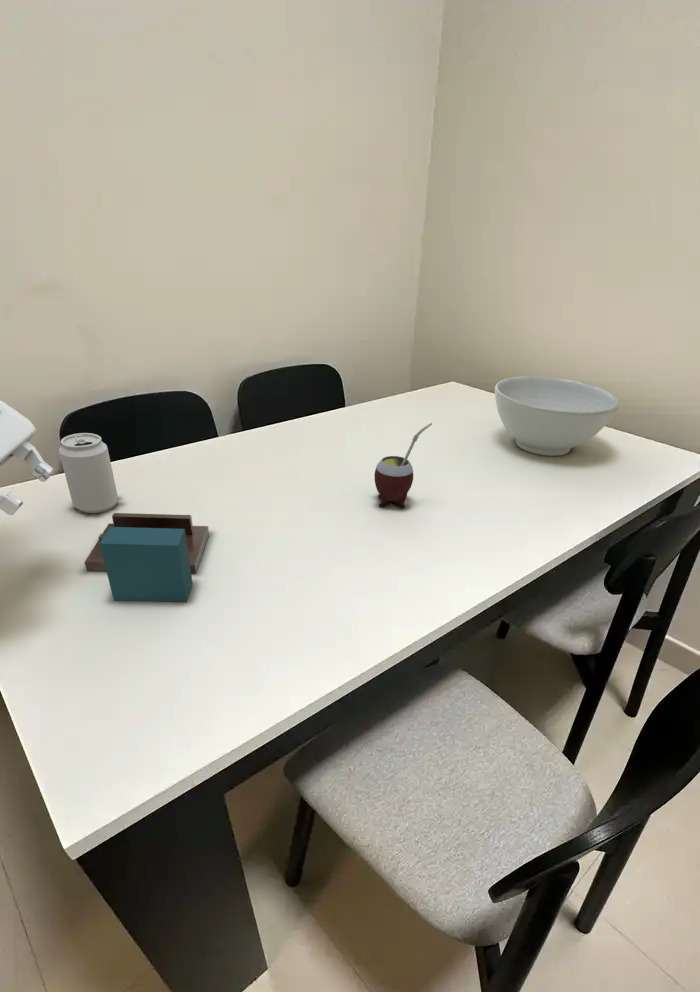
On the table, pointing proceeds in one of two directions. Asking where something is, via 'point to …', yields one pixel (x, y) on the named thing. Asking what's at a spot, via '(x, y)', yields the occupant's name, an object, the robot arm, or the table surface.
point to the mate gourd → (395, 477)
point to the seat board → (194, 534)
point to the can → (88, 472)
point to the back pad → (147, 564)
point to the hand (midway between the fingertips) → (34, 492)
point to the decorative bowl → (552, 412)
